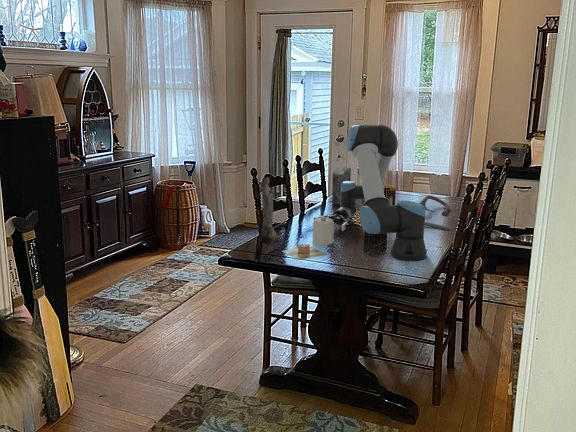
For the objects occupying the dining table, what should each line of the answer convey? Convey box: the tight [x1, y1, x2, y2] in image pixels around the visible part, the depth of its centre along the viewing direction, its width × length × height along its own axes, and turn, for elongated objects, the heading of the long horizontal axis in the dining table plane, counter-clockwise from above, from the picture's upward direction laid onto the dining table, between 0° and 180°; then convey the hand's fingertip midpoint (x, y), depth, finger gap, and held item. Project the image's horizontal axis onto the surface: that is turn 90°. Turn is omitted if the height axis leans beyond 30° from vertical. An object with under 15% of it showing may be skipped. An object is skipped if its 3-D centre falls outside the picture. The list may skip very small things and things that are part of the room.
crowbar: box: [424, 221, 451, 231], centre depth 284 cm, size 40×2×5 cm, turn 59°
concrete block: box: [331, 166, 352, 206], centre depth 329 cm, size 27×9×20 cm, turn 164°
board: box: [281, 246, 327, 261], centre depth 235 cm, size 14×14×1 cm
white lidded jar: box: [312, 217, 335, 246], centre depth 249 cm, size 9×9×12 cm
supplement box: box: [361, 183, 397, 207], centre depth 304 cm, size 10×15×16 cm
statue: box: [259, 177, 279, 244], centre depth 252 cm, size 8×7×30 cm
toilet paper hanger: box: [418, 195, 450, 217], centre depth 312 cm, size 28×7×17 cm
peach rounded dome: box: [297, 243, 311, 254], centre depth 235 cm, size 5×5×3 cm
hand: (328, 226), depth 256 cm, fingers open, 13 cm apart
